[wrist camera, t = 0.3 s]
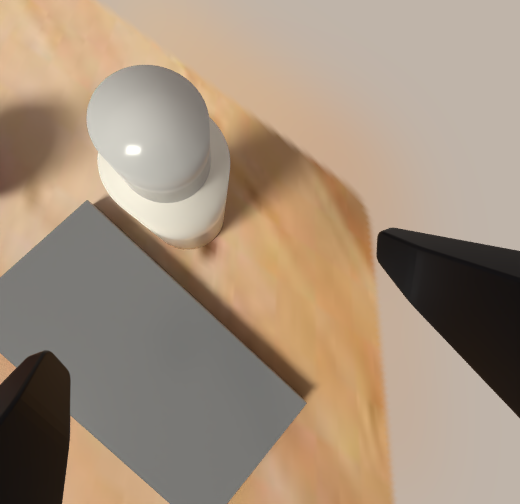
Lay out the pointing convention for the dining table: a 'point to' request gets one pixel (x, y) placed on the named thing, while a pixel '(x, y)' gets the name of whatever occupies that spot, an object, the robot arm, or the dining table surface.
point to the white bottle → (161, 153)
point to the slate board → (144, 361)
